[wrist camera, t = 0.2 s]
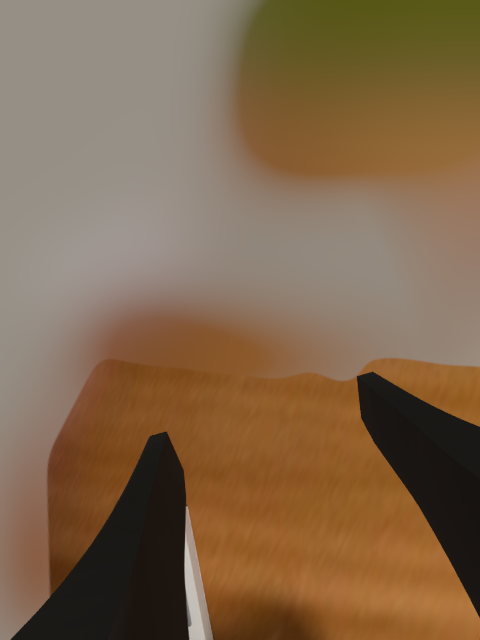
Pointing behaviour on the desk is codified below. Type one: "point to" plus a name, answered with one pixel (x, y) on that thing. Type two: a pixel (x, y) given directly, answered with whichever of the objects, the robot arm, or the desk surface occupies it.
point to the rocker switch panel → (195, 590)
